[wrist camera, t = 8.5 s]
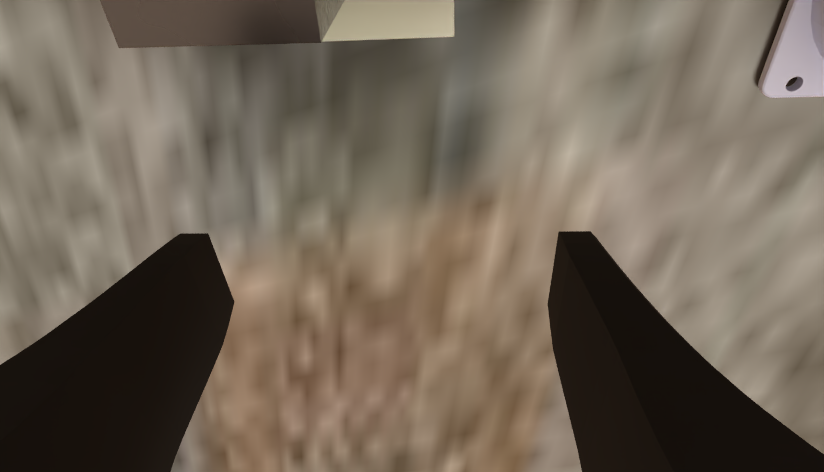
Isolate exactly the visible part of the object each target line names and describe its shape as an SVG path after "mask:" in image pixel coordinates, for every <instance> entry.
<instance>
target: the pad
mask: <svg viewBox="0 0 824 472" xmlns="http://www.w3.org/2000/svg"><path fill="white" fill-rule="evenodd" d="M432 37H454V0H345V1H344V3H343V4H342V6H341V8H340V10H339V11H338V13H337V15H336V17H335V19H334V20H333V22H332V24H331V26H330V28H329V29H328V31H327V33H326V35H325V36H324V38H323V40H322V41H349V40H377V39H404V38H432Z"/></svg>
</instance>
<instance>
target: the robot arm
mask: <svg viewBox="0 0 824 472" xmlns="http://www.w3.org/2000/svg"><path fill="white" fill-rule="evenodd" d="M794 77H797V80H796V81H795V83H794V84H792V85H791V86H787V87H786V84H787V82H788V81H789V80H790V79H792V78H794ZM758 87H759V90H760V91H761V92H762V93H763V94H764V95H766V96H767V97H771V98H783V97H823V96H824V0H789V1H788V4H787V7H786V9H785V12H784V15H783V17H782V20H781V23H780V26H779V28H778V31H777V34H776V36H775V39H774V42H773V44H772V47H771V50H770V52H769V55H768V58H767V61H766V63H765V66H764V69H763V71H762V74H761V77H760V79H759V84H758ZM233 305H234V300H233V297H232V295H231V292H230V289H229V287H228V284H227V282H226V279H225V276H224V274H223V271H222V269H221V266H220V263H219V261H218V258H217V256H216V253H215V250H214V248H213V245H212V242H211V240H210V237H209V235H208V234H179V235H178V236H176V237H175V238H173V239H172V240H170V241H169V242H168V243H166V244H165V245H164V246H162V247H161V248H160V249H159V250H157V251H156V252H155V253H153V254H152V255H151V256H150V257H148V258H147V259H146V260H144V261H143V262H142V263H141V264H139V265H138V266H137V267H136V268H134V269H133V270H132V271H131V272H129V273H128V274H127V275H125V276H124V277H123V278H122V279H120V280H119V281H118V282H117V283H115V284H114V285H113V286H111V287H110V288H109V289H108V290H106V291H105V292H104V293H102V294H101V295H100V296H99V297H97V298H96V299H95V300H93V301H92V302H91V303H89V304H88V305H87V306H85V307H84V308H82V309H81V310H80V311H78V312H77V313H76V314H74V315H73V316H71V317H70V318H69V319H67V320H66V321H65V322H63V323H62V324H60V325H59V326H58V327H56V328H55V329H54V330H52V331H51V332H49V333H48V334H47V335H45V336H44V337H42V338H41V339H39V340H38V341H36V342H35V343H34V344H32V345H31V346H29V347H27V348H26V349H24V350H23V351H21V352H20V353H18V354H17V355H15V356H14V357H12V358H10V359H9V360H7V361H6V362H4V363H2V364H1V365H0V472H170V471H171V468H172V465H173V462H174V459H175V456H176V454H177V451H178V449H179V446H180V443H181V441H182V438H183V436H184V434H185V431H186V429H187V427H188V425H189V422H190V420H191V418H192V415H193V413H194V411H195V409H196V406H197V404H198V402H199V399H200V397H201V395H202V392H203V390H204V388H205V386H206V383H207V381H208V379H209V376H210V374H211V372H212V369H213V367H214V365H215V362H216V360H217V357H218V355H219V353H220V350H221V348H222V345H223V342H224V339H225V335H226V332H227V329H228V325H229V321H230V317H231V313H232V309H233ZM548 310H549V319H550V328H551V336H552V344H553V351H554V355H555V359H556V363H557V367H558V372H559V376H560V380H561V384H562V388H563V392H564V396H565V400H566V404H567V408H568V412H569V416H570V420H571V424H572V429H573V433H574V437H575V441H576V445H577V449H578V453H579V458H580V463H581V468H582V472H824V454H823V453H821V452H820V451H818V450H817V449H816V448H814V447H813V446H811V445H810V444H809V443H807V442H806V441H805V440H803V439H802V438H801V437H799V436H798V435H797V434H795V433H794V432H793V431H791V430H790V429H789V428H787V427H786V426H785V425H783V424H782V423H781V422H780V421H778V420H777V419H776V418H774V417H773V416H772V415H770V414H769V413H768V412H766V411H765V410H764V409H763V408H761V407H760V406H759V405H758V404H756V403H755V402H754V401H753V400H751V399H750V398H749V397H748V396H746V395H745V394H744V393H743V392H742V391H740V390H739V389H738V388H737V387H736V386H735V385H734V384H732V383H731V382H730V381H729V380H728V379H727V378H726V377H724V376H723V375H722V374H721V373H720V372H719V371H717V370H716V369H715V368H714V367H713V366H712V365H711V364H710V363H709V362H707V361H706V360H705V359H704V358H703V357H702V356H701V355H700V354H699V353H698V352H697V351H696V350H695V349H694V348H693V347H692V346H691V345H690V344H689V343H688V342H687V341H686V340H685V339H684V338H683V337H682V336H681V335H680V334H679V333H678V332H677V331H676V330H675V329H674V328H673V327H672V326H671V325H670V324H669V323H668V322H667V321H666V320H665V319H664V318H663V316H662V315H661V314H660V313H659V312H658V311H657V310H656V309H655V308H654V307H653V305H652V304H651V303H650V302H649V301H648V300H647V299H646V298H645V297H644V295H643V294H642V293H641V292H640V291H639V290H638V289H637V287H636V286H635V285H634V284H633V283H632V282H631V280H630V279H629V278H628V277H627V276H626V274H625V273H624V272H623V271H622V270H621V268H620V267H619V266H618V265H617V263H616V262H615V261H614V260H613V258H612V257H611V256H610V255H609V253H608V252H607V251H606V250H605V248H604V247H603V246H602V245H601V243H600V242H599V241H598V239H597V238H596V237H595V236H594V235H593V234H592V233H591V232H590V231H586V232H559V233H558V240H557V246H556V253H555V259H554V266H553V273H552V279H551V286H550V292H549V299H548Z"/></svg>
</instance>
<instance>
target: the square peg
mask: <svg viewBox="0 0 824 472" xmlns="http://www.w3.org/2000/svg"><path fill="white" fill-rule="evenodd" d="M100 1H101V4H102V6H103V9H104V11H105V14H106V16H107V19H108V22H109V24H110V27H111V29H112V32H113V34H114V37H115V39H116V42H117V44H118V47H119V48H138V47H175V46H212V45H249V44H286V43H321V42H322V40H323V38H324V36H325V35H326V33H327V31H328V29H329V28H330V26H331V24H332V22H333V20H334V19H335V17H336V15H337V13H338V11H339V10H340V8H341V6H342V4H343V3H344V1H345V0H100Z"/></svg>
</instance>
